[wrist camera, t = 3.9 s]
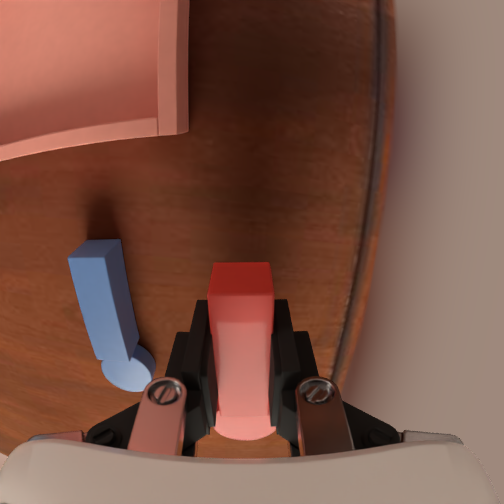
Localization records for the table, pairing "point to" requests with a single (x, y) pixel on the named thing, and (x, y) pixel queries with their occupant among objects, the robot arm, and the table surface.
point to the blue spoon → (110, 313)
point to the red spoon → (242, 346)
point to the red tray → (91, 72)
